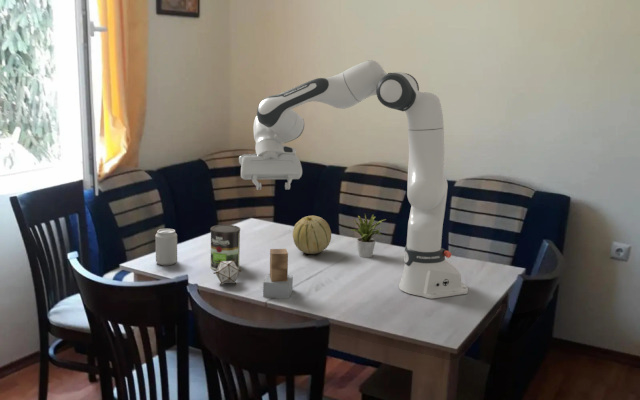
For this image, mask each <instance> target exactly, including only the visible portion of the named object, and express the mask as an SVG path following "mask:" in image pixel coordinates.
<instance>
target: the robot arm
mask: <svg viewBox="0 0 640 400" xmlns="http://www.w3.org/2000/svg"><path fill="white" fill-rule="evenodd" d="M372 96H376V97H377V99H378V101H379V102H380V103H381V104H382V105H383V106H384V107H387V108H389V109H393V110H398V111H401V112H405V113H406V117H407V136H408V139H407V141H408V163H407V164H408V166H407V183H406V184H407V188H406V189H407V192H406V196H407V200H408V202H409V204H410V206H411V207H410V212H409V218H408V222H407V234H406V235H407V236H406V245H405V247H404V254H403V261H404V264H403V265H404V266H403V271H402V274H401V279H400V282H399V284H398V289H400V290H401V291H402V292H405V293H406V294H410V295H414V296H419V297H423V298H426V299H432V300H433V299H439V298H446V297H451V296H452V297H453V296H454V297H455V296H460V295H465V294H468V293H469V289H468V286H466V284H465V283H463V282H462V275H461V273H460V270H458V269H457V268H456V267H455V266H454V265H453V264H452V263H451V262H449V261H448V260H447V259H450V258H451V257H452V253H451V251H450V250H446V249H445V248H443V247H442V239H443V237H442V236H443V227H444V225H443V224H444V219H445V212H446V204H447V197H448V187H449V186H448V185H449V184H448V179H447V178H446V176H445V175H444V165H445V162H444V161H445V131H444V127H445V126H444V125H445V124H444V114H443V110H442V109H443V108H442V105H441V100H440V98H439V96H437V95H436V94H434V93H431V92H421V91H420V87H419V83H418V81H417V79H416V78H415V77H414V76H413V75H411V74H409V73H405V72H402V71H396V72H394V71H393V72H388V73H387V72H386V71H385V70H384V68H383V67H382V65H381V64H380V63H379V62H377V61H376V60H372V59H371V60H366V61H363V62H361V63H358V64H355V65H353V66H351V67H349V68H347V69H346V70H344V71H342V72H340V73H338V74H335V75H332V76H329V77H319V78H314V79H312V80H309V81H307V82H304V83H302V84H300V85H297V86H295V87H292V88H290V89H288V90H286V91H283V92H281V93H278V94H273V95H269V96H267V97H264V98H263V99H261V101H260V102H259V103H258V106H257V110H256V116H255V118H254V120H253V125H252V126H253V129H252V130H253V139H254V141H255V153H251V154H250V153H243V154H241V155H240V156H239V157H238V164H239V165H240V166H241V167H240V178H241V179H242V180H247V181H248V180H251V182H252V183H253V184H254V185H255V187H256V190H257V191H259V190H260V191H261V190H262V188H263V187H262V182H259V181H258V180H286V181H287V182H285V183H284V189H285V190H291V183H292V181H293V180H300V178H302V175H303V167H302V163H301V161H300V157H298V155H297V149H296V148H294V147H291V146H287V145H284V144H286V143H289V142H292V141H295V140H297V139H298V138H299V137H300V136H301V135H302V134H303V132H304V129H305V120H304V118H303V117H302V116H301V115H300V114H299V113H298V112H296V111H295V110H293V109H295V108H298V107H300V106H302V105H304V104H306V103H310V102H316V103H323V104H326V105H329V106H332V107H333V108H336V109H344V110H345V109H348V108H351V107H353V106H356V105H357V104H359V103H361V102H363V101H365V100H367V99H368V98H370V97H372ZM446 258H447V259H446Z"/></svg>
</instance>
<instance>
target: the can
mask: <svg viewBox="0 0 640 400" xmlns="http://www.w3.org/2000/svg"><path fill="white" fill-rule="evenodd" d="M155 262H156V263H157V264H158V265H160V266H172V265H175V264H176V262H178V234H177V233H176V229H173V228H160V229H158V230H157V232H156V234H155Z"/></svg>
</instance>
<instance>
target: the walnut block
mask: <svg viewBox="0 0 640 400" xmlns="http://www.w3.org/2000/svg"><path fill="white" fill-rule="evenodd" d="M288 268H289V252H288V249H287V248H270V251H269V274H270V278H271V282H275V281H287V278H288V270H289V269H288Z"/></svg>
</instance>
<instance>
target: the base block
mask: <svg viewBox="0 0 640 400" xmlns="http://www.w3.org/2000/svg"><path fill="white" fill-rule="evenodd" d="M293 277H294V276H293V275H291V274H290V275H288V278H287V281H275V282H271V278H270V273H268V274H267V275H266V277H265V279H264V281H263V282H262V283H263V287H262V288H263V289H262V292H263V295H262V297H263V298H274V297H275V298H277V299H290V296H291V294H292V291H293V285H294V284H293V283H294V282H293V281H294V280H293V279H294V278H293ZM275 298H274V299H275Z"/></svg>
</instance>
